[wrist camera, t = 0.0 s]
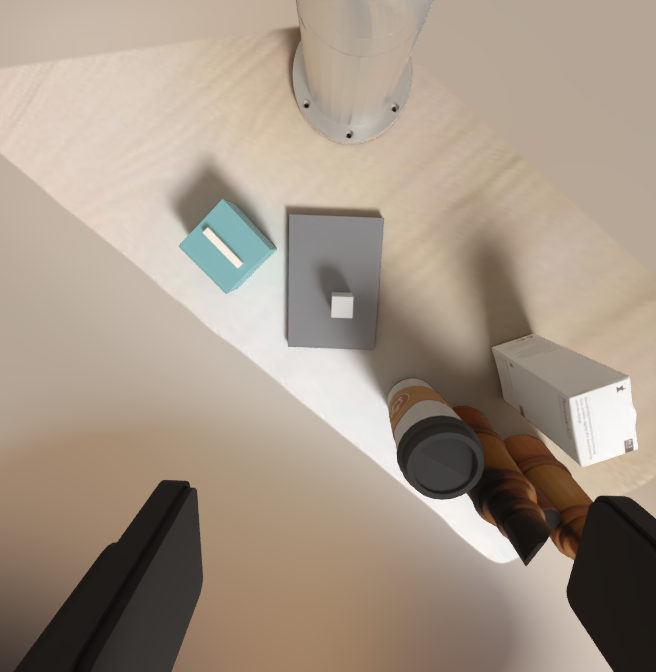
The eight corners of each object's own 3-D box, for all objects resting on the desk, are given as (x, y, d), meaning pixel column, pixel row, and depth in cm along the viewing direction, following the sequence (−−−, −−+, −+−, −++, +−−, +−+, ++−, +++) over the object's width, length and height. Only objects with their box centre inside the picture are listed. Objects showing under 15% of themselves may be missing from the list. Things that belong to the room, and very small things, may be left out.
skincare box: (489, 346, 45) (563, 394, 31) (535, 331, 45) (633, 372, 30) (503, 402, 47) (579, 471, 33) (548, 388, 47) (645, 452, 32)
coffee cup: (401, 358, 46) (434, 411, 31) (453, 388, 47) (508, 453, 32) (367, 408, 48) (384, 480, 33) (418, 436, 49) (455, 517, 34)
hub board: (290, 214, 41) (285, 211, 37) (382, 218, 41) (389, 215, 37) (289, 344, 45) (284, 355, 41) (373, 347, 45) (378, 359, 41)
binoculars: (561, 449, 49) (710, 582, 30) (527, 493, 51) (648, 646, 32) (449, 396, 47) (531, 502, 28) (418, 444, 49) (476, 575, 30)
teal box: (195, 245, 42) (175, 246, 37) (235, 204, 41) (220, 198, 36) (237, 288, 44) (224, 294, 38) (277, 249, 42) (269, 249, 37)
